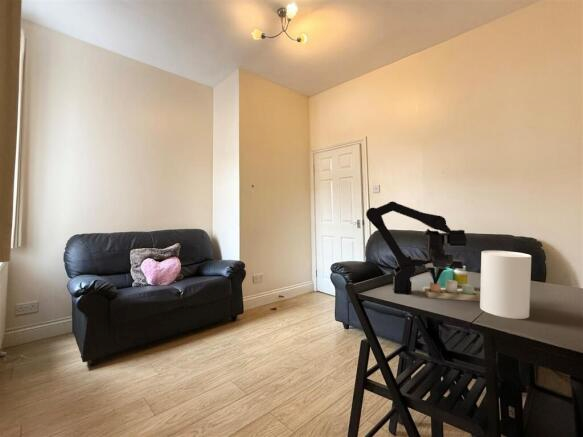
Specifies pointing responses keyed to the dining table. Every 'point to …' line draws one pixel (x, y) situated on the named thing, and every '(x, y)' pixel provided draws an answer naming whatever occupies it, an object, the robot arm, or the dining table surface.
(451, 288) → the button cream
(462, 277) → the supplement bottle
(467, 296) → the three-slot wooden rack
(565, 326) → the dining table surface
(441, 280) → the turquoise rounded piece
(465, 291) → the button sage
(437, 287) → the button terracotta
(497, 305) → the canister
